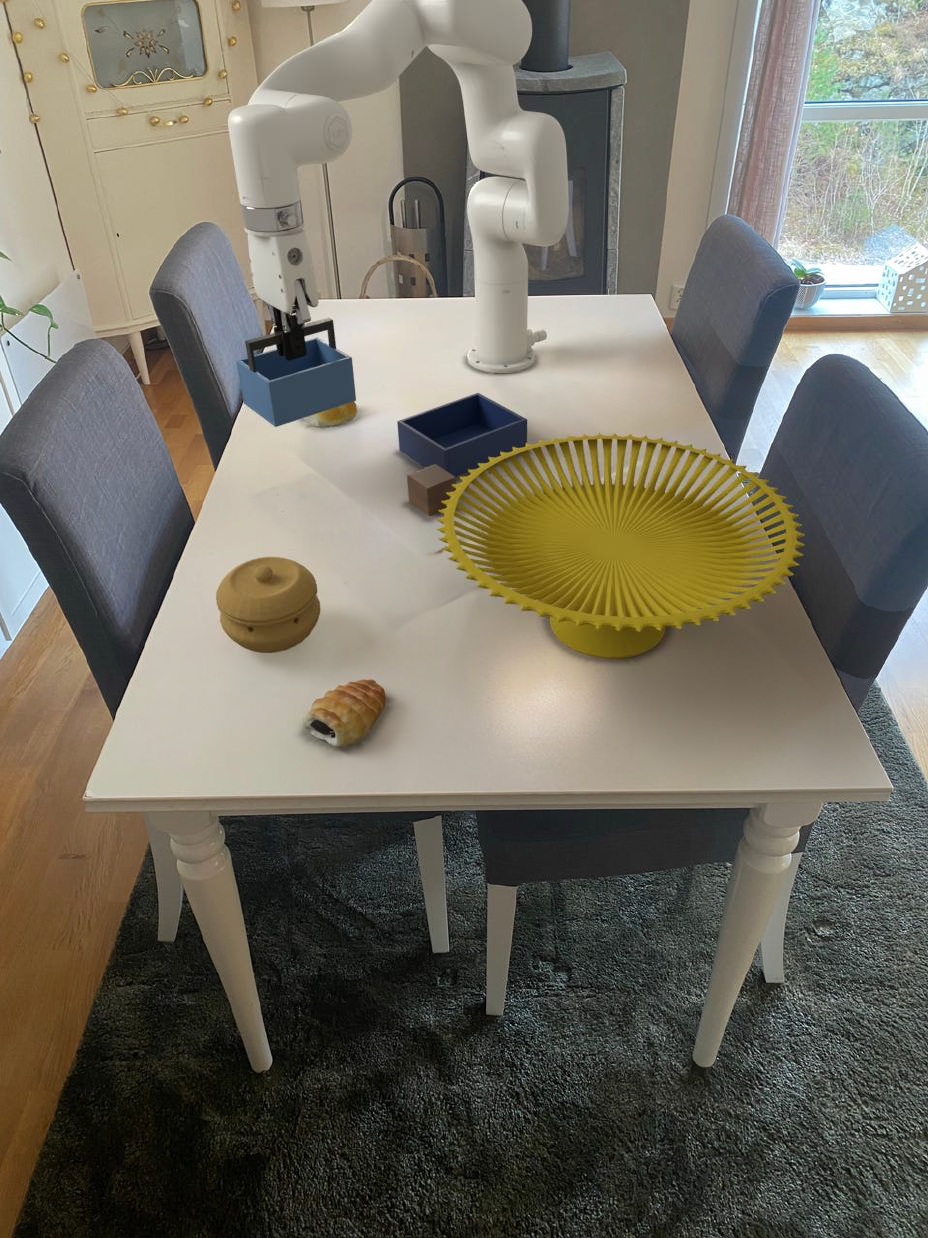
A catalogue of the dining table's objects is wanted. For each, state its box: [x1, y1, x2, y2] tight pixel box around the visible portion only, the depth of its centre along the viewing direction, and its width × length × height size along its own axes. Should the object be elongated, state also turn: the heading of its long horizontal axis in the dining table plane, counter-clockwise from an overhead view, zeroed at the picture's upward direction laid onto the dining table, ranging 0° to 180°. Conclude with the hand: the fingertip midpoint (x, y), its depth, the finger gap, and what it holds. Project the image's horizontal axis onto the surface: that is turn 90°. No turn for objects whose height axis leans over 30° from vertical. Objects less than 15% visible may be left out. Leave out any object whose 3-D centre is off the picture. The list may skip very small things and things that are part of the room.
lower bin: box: [396, 392, 528, 478], centre depth 147 cm, size 16×12×6 cm
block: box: [406, 464, 457, 517], centre depth 135 cm, size 5×5×5 cm
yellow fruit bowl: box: [435, 432, 806, 660], centre depth 110 cm, size 40×40×15 cm
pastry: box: [302, 678, 387, 748], centre depth 101 cm, size 9×7×4 cm
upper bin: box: [235, 317, 357, 428], centre depth 132 cm, size 13×10×11 cm
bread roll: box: [302, 401, 358, 429], centre depth 158 cm, size 8×9×4 cm
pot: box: [215, 556, 321, 654], centre depth 111 cm, size 12×12×10 cm
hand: (292, 354), depth 131 cm, fingers closed on upper bin, 1 cm apart
